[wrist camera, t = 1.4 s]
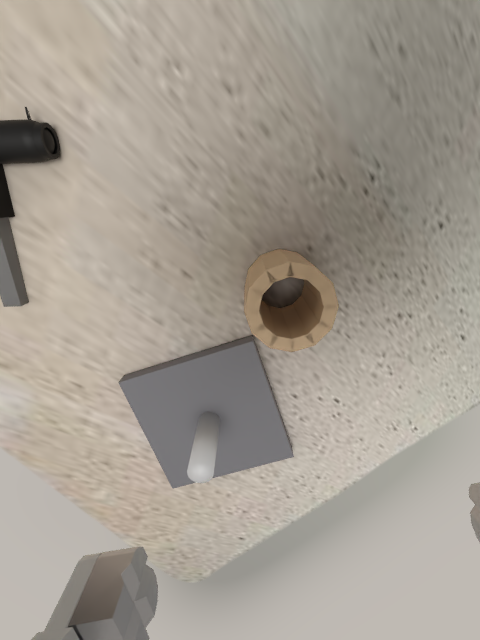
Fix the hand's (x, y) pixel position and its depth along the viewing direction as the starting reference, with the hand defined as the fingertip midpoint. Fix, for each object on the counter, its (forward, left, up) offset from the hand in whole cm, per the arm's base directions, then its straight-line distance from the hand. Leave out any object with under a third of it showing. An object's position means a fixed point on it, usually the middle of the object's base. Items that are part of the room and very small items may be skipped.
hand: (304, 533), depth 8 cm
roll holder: (+9, +10, -24) cm, 28 cm away
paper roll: (-2, 0, -24) cm, 24 cm away
